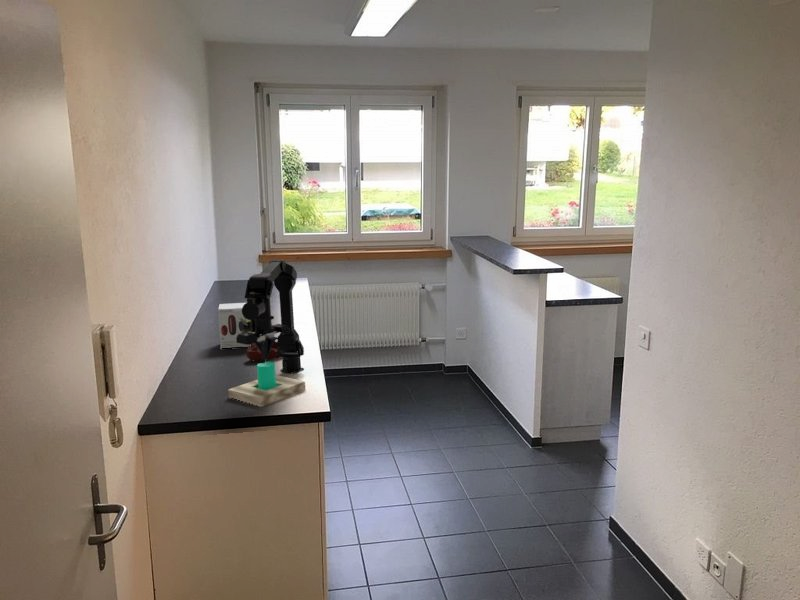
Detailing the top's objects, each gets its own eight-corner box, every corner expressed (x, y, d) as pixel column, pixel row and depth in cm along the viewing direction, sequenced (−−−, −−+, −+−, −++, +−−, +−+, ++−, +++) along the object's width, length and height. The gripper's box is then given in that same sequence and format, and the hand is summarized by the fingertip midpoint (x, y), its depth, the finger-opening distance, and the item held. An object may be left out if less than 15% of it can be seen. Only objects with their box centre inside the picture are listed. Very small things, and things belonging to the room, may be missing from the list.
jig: (273, 382, 234) (273, 374, 233) (305, 389, 224) (304, 381, 223) (228, 398, 218) (228, 389, 217) (260, 406, 208) (260, 397, 208)
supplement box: (220, 350, 281) (216, 309, 278) (221, 342, 294) (218, 303, 290) (260, 347, 284) (258, 306, 281) (260, 340, 297) (258, 301, 294)
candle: (277, 390, 224) (275, 357, 222) (275, 396, 218) (273, 361, 216) (260, 391, 224) (257, 357, 222) (257, 397, 218) (254, 362, 216)
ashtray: (286, 362, 260) (286, 350, 259) (245, 364, 259) (244, 352, 258) (291, 350, 277) (290, 339, 276) (252, 352, 276) (251, 341, 275)
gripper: (266, 306, 228) (269, 349, 231) (223, 316, 213) (227, 362, 216) (289, 309, 221) (291, 353, 224) (246, 319, 207) (249, 367, 210)
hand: (265, 358), depth 219 cm, fingers closed
